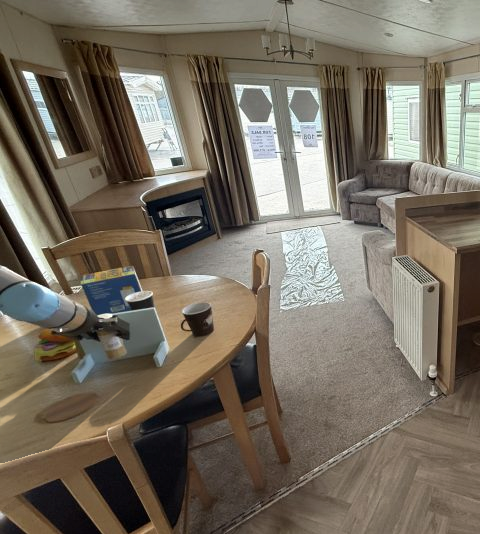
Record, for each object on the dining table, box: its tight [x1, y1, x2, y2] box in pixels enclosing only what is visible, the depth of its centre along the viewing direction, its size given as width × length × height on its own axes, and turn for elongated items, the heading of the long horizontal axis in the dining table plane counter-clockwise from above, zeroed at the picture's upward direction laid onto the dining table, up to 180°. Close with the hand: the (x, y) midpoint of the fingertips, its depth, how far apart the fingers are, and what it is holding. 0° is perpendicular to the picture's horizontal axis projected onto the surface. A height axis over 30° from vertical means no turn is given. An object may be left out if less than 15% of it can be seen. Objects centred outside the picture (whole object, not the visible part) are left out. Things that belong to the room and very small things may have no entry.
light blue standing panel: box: [70, 306, 170, 385], centre depth 102 cm, size 20×10×16 cm, turn 114°
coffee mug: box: [180, 301, 215, 338], centre depth 119 cm, size 12×9×10 cm
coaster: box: [43, 391, 99, 423], centre depth 90 cm, size 10×10×1 cm
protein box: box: [80, 265, 143, 316], centre depth 133 cm, size 10×15×16 cm
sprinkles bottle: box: [97, 314, 127, 359], centre depth 99 cm, size 5×5×13 cm
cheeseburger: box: [34, 328, 77, 363], centre depth 109 cm, size 10×11×10 cm
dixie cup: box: [125, 290, 155, 311], centre depth 126 cm, size 8×8×11 cm
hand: (117, 337), depth 103 cm, fingers closed on sprinkles bottle, 4 cm apart
